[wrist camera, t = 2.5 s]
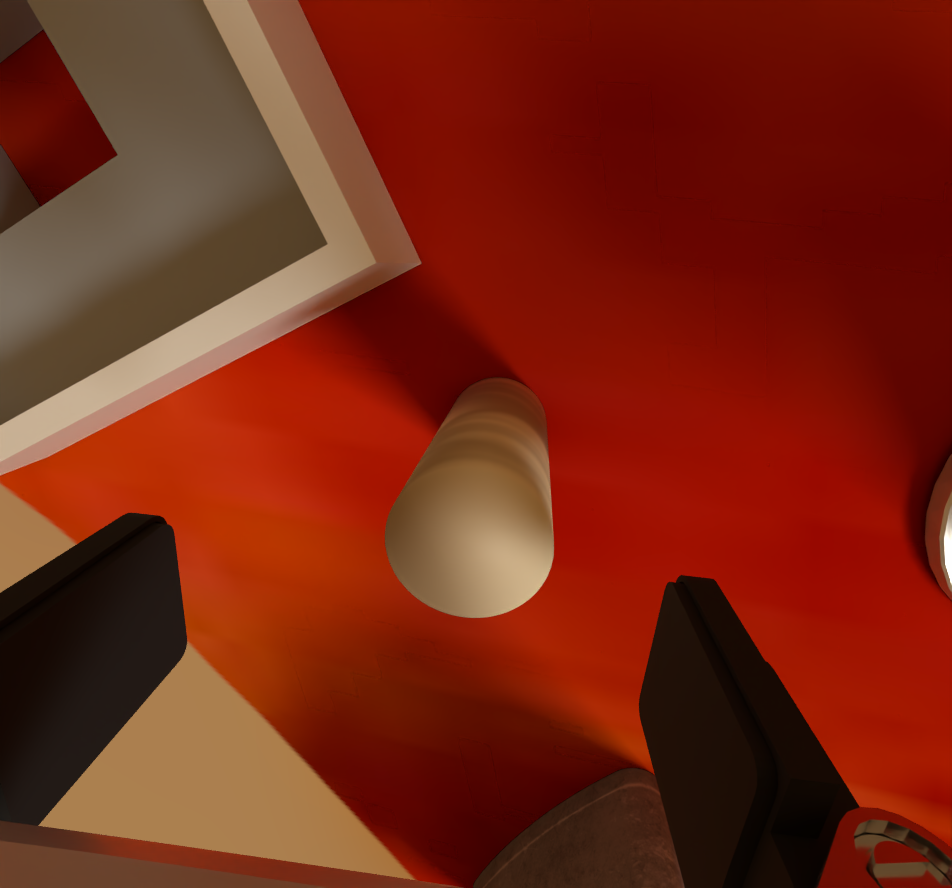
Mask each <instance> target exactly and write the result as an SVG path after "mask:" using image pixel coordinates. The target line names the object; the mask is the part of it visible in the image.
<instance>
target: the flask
mask: <svg viewBox="0 0 952 888" xmlns="http://www.w3.org/2000/svg"><path fill="white" fill-rule="evenodd" d="M473 888H685V887H684V883H683V879H682V875H681V871H680V868H679V864H678V860H677V856H676V853H675V849H674V845H673V841H672V837H671V834H670V830H669V826H668V822H667V818H666V815H665V811H664V807H663V803H662V799H661V796H660V792H659V788H658V784H657V780H656V777H655V776H654V775H653V774H652V773H650V772H648V771H646V770H643V769H639V768H626V769H621V770H619V771H616V772H614V773H612V774H610V775H608V776H606V777H604V778H602V779H601V780H599V781H597V782H595V783H593V784H591V785H590V786H588V787H586V788H584V789H583V790H581V791H579V792H578V793H576V794H574V795H573V796H571V797H569V798H568V799H566V800H565V801H563V802H562V803H560V804H559V805H557V806H556V807H554V808H553V809H551V810H550V811H549V812H547V813H546V814H544V815H543V816H542V817H541V818H539V819H538V820H537V821H535V822H534V823H533V824H531V825H530V826H529V827H528V828H527V829H525V830H524V831H523V832H522V833H520V834H519V835H518V836H517V837H516V838H515V839H514V840H512V841H511V842H510V843H509V844H508V845H507V846H506V847H505V848H504V849H503V850H502V851H501V852H500V853H499V854H498V855H497V856H496V857H495V858H494V859H493V860H492V861H491V862H490V863H489V865H488V866H487V867H486V868H485V869H484V870H483V872H482V873H481V874H480V876H479V877H478V878H477V879H476V881H475V883H474V885H473Z"/></svg>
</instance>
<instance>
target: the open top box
mask: <svg viewBox="0 0 952 888" xmlns="http://www.w3.org/2000/svg"><path fill="white" fill-rule="evenodd" d="M43 29H44V30H45V32H46V34H47V36H48V37H49V39H50V41H51V42H52V44H53V46H54V47H55V49H56V51H57V53H58V54H59V56H60V58H61V59H62V61H63V63H64V64H65V66H66V68H67V69H68V71H69V73H70V75H71V76H72V78H73V80H74V81H75V83H76V85H77V86H78V88H79V90H80V92H81V93H82V95H83V97H84V98H85V100H86V102H87V103H88V105H89V107H90V109H91V110H92V112H93V114H94V115H95V117H96V119H97V120H98V122H99V124H100V126H101V127H102V129H103V131H104V132H105V134H106V136H107V137H108V139H109V141H110V143H111V144H112V146H113V148H114V149H115V151H116V153H117V154H118V155H117V156H115V157H114V158H112V159H111V160H109V161H108V162H106V163H105V164H103V165H102V166H100V167H99V168H98V169H96V170H95V171H93V172H92V173H90V174H89V175H87V176H86V177H84V178H83V179H81V180H80V181H78V182H77V183H75V184H74V185H72V186H71V187H69V188H68V189H66V190H65V191H63V192H62V193H60V194H59V195H58V196H56V197H55V198H53V199H52V200H50V201H49V202H47V203H46V204H44V205H43V206H41V207H40V206H39V204H38V202H37V201H36V199H35V198H34V196H33V195H32V193H31V192H30V190H29V188H28V187H27V185H26V184H25V182H24V181H23V179H22V177H21V176H20V174H19V173H18V171H17V170H16V168H15V167H14V165H13V163H12V162H11V160H10V159H9V157H8V156H7V154H6V152H5V151H4V149H3V148H2V146H1V145H0V475H2V474H5V473H7V472H10V471H13V470H15V469H18V468H20V467H23V466H25V465H28V464H30V463H33V462H36V461H38V460H41V459H43V458H46V457H48V456H51V455H52V454H54V453H56V452H58V451H60V450H62V449H64V448H66V447H68V446H70V445H72V444H74V443H76V442H78V441H80V440H81V439H83V438H85V437H87V436H89V435H91V434H93V433H95V432H97V431H99V430H101V429H103V428H105V427H107V426H109V425H110V424H112V423H114V422H116V421H118V420H120V419H122V418H124V417H126V416H128V415H130V414H132V413H134V412H136V411H138V410H139V409H141V408H143V407H145V406H147V405H149V404H151V403H153V402H155V401H157V400H159V399H161V398H163V397H165V396H167V395H168V394H170V393H172V392H174V391H176V390H178V389H180V388H182V387H184V386H186V385H188V384H190V383H192V382H194V381H196V380H197V379H199V378H201V377H203V376H205V375H207V374H209V373H211V372H213V371H215V370H217V369H219V368H221V367H223V366H225V365H226V364H228V363H230V362H232V361H234V360H236V359H238V358H240V357H242V356H244V355H246V354H248V353H250V352H252V351H254V350H255V349H257V348H259V347H261V346H263V345H265V344H267V343H269V342H271V341H273V340H275V339H277V338H279V337H281V336H283V335H284V334H286V333H288V332H290V331H292V330H294V329H296V328H298V327H300V326H302V325H304V324H306V323H308V322H310V321H312V320H313V319H315V318H317V317H319V316H321V315H323V314H325V313H327V312H329V311H331V310H333V309H335V308H337V307H339V306H341V305H342V304H344V303H346V302H348V301H350V300H352V299H354V298H356V297H358V296H360V295H362V294H364V293H366V292H368V291H370V290H371V289H373V288H375V287H377V286H379V285H381V284H383V283H385V282H387V281H389V280H391V279H393V278H395V277H397V276H399V275H400V274H402V273H404V272H406V271H408V270H410V269H412V268H414V267H416V266H418V265H420V264H422V263H421V261H420V259H419V256H418V254H417V252H416V250H415V248H414V246H413V244H412V242H411V239H410V237H409V235H408V233H407V231H406V229H405V227H404V225H403V223H402V220H401V218H400V216H399V214H398V212H397V210H396V208H395V206H394V203H393V201H392V199H391V197H390V195H389V193H388V191H387V189H386V186H385V184H384V182H383V180H382V178H381V176H380V174H379V172H378V169H377V167H376V165H375V163H374V161H373V159H372V157H371V155H370V152H369V150H368V148H367V146H366V144H365V142H364V140H363V138H362V135H361V133H360V131H359V129H358V127H357V125H356V123H355V121H354V119H353V116H352V114H351V112H350V110H349V108H348V106H347V104H346V102H345V99H344V97H343V95H342V93H341V91H340V89H339V87H338V85H337V82H336V80H335V78H334V76H333V74H332V72H331V70H330V68H329V65H328V63H327V61H326V59H325V57H324V55H323V53H322V51H321V48H320V46H319V44H318V42H317V40H316V38H315V36H314V34H313V31H312V29H311V27H310V25H309V23H308V21H307V19H306V17H305V14H304V12H303V10H302V8H301V6H300V4H299V2H298V0H0V63H1V62H2V61H3V60H5V59H6V58H7V57H8V56H10V55H11V54H12V53H14V52H15V51H16V50H17V49H19V48H20V47H21V46H22V45H24V44H25V43H26V42H28V41H29V40H30V39H31V38H33V37H34V36H35V35H36V34H38V33H39V32H40V31H42V30H43Z"/></svg>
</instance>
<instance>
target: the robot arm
mask: <svg viewBox="0 0 952 888" xmlns="http://www.w3.org/2000/svg"><path fill="white" fill-rule="evenodd" d="M925 544H926V549H927V554H928V559H929V565H930V567H931V569H932V571H933V573H934V575H935V577H936V579H937V581H938V584H939V586H940V587H941V589H942V590H943V591H944V592H945V593H946V595H947V596H948V597H949V598H950V599H951V600H952V454H951V455H950V457H949V458H948V460H947V462H946V464H945V466H944V468H943V470H942V472H941V474H940V476H939V478H938V480H937V481H936V483H935V485H934V489H933V492H932V496H931V499H930V503H929V506H928V509H927V513H926V528H925ZM186 645H187V634H186V626H185V618H184V610H183V601H182V593H181V585H180V577H179V569H178V560H177V552H176V544H175V536H174V531H173V528H172V527H171V526H170V525H168V524H167V523H166V521H165V519H164V518H163V517H161V516H156V515H147V514H139V513H127V514H125V515H123V516H121V517H120V518H118V519H116V520H115V521H113V522H112V523H110V524H108V525H107V526H105V527H104V528H102V529H101V530H99V531H97V532H96V533H94V534H93V535H91V536H89V537H88V538H86V539H85V540H83V541H82V542H80V543H78V544H77V545H75V546H74V547H72V548H70V549H69V550H68V551H66V552H64V553H63V554H61V555H60V556H58V557H56V558H55V559H53V560H52V561H50V562H48V563H47V564H45V565H44V566H42V567H41V568H39V569H37V570H36V571H34V572H33V573H31V574H29V575H28V576H26V577H25V578H23V579H22V580H20V581H18V582H17V583H15V584H14V585H12V586H10V587H9V588H7V589H6V590H4V591H3V592H1V593H0V888H462V887H456V886H449V885H443V884H436V883H430V882H423V881H416V880H410V879H403V878H397V877H390V876H383V875H377V874H370V873H363V872H356V871H350V870H343V869H336V868H329V867H322V866H315V865H308V864H302V863H295V862H288V861H281V860H275V859H267V858H261V857H254V856H247V855H240V854H233V853H226V852H219V851H212V850H205V849H198V848H192V847H185V846H177V845H171V844H163V843H157V842H150V841H142V840H135V839H129V838H121V837H114V836H107V835H100V834H92V833H85V832H78V831H70V830H64V829H56V828H49V827H42V826H38V825H39V824H40V823H41V822H42V820H43V819H44V818H45V817H46V816H47V815H48V813H49V812H50V811H51V810H52V809H53V808H54V806H55V805H56V804H57V803H58V802H59V801H60V799H61V798H62V797H63V796H64V795H65V794H66V792H67V791H68V790H69V789H70V788H71V787H72V786H73V784H74V783H75V782H76V781H77V780H78V778H79V777H80V776H81V775H82V774H83V773H84V772H85V770H86V769H87V768H88V767H89V766H90V764H91V763H92V762H93V761H94V760H95V759H96V758H97V756H98V755H99V754H100V753H101V752H102V751H103V749H104V748H105V747H106V746H107V745H108V744H109V742H110V741H111V740H112V739H113V738H114V737H115V735H116V734H117V733H118V732H119V731H120V730H121V728H122V727H123V726H124V725H125V724H126V723H127V721H128V720H129V719H130V718H131V717H132V716H133V714H134V713H135V712H136V711H137V710H138V709H139V707H140V706H141V705H142V704H143V703H144V702H145V701H146V699H147V698H148V697H149V696H150V695H151V694H152V692H153V691H154V690H155V689H156V688H157V687H158V685H159V684H160V683H161V682H162V681H163V679H164V678H165V677H166V676H167V675H168V674H169V673H170V671H171V670H172V669H173V668H174V667H175V666H176V664H177V663H178V662H179V661H180V660H181V658H182V656H183V654H184V652H185V649H186ZM639 713H640V719H641V723H642V727H643V731H644V735H645V739H646V742H647V746H648V750H649V754H650V758H651V761H652V765H653V769H654V773H655V777H656V780H657V784H658V788H659V792H660V796H661V799H662V803H663V807H664V811H665V815H666V818H667V822H668V826H669V830H670V834H671V837H672V841H673V845H674V849H675V853H676V856H677V860H678V864H679V868H680V871H681V875H682V879H683V883H684V887H685V888H952V848H951V847H949V846H948V845H947V844H946V843H945V842H944V841H942V840H941V839H939V838H938V837H936V836H935V835H934V834H932V833H931V832H929V831H928V830H926V829H925V828H924V827H922V826H920V825H918V824H916V823H914V822H912V821H910V820H908V819H906V818H904V817H902V816H900V815H898V814H895V813H892V812H888V811H885V810H882V809H879V808H865V807H859V805H858V804H857V802H856V800H855V799H854V797H853V796H852V794H851V792H850V791H849V789H848V788H847V786H846V784H845V783H844V781H843V780H842V778H841V776H840V775H839V773H838V772H837V770H836V768H835V767H834V765H833V764H832V762H831V760H830V759H829V757H828V756H827V754H826V752H825V751H824V749H823V748H822V746H821V744H820V743H819V741H818V740H817V738H816V736H815V735H814V733H813V732H812V730H811V728H810V727H809V725H808V724H807V722H806V720H805V719H804V717H803V716H802V714H801V712H800V711H799V709H798V707H797V706H796V704H795V703H794V701H793V699H792V698H791V696H790V695H789V693H788V691H787V690H786V688H785V687H784V685H783V683H782V682H781V680H780V679H779V677H778V675H777V674H776V672H775V671H774V669H773V668H772V667H771V666H770V664H769V663H768V662H766V661H765V660H764V659H763V657H762V655H761V654H760V652H759V651H758V649H757V647H756V646H755V644H754V642H753V641H752V639H751V638H750V636H749V634H748V633H747V631H746V629H745V628H744V626H743V625H742V623H741V621H740V620H739V618H738V616H737V615H736V613H735V612H734V610H733V608H732V607H731V605H730V603H729V602H728V600H727V599H726V597H725V595H724V594H723V592H722V590H721V589H720V587H719V586H718V584H717V582H716V581H715V580H714V579H710V578H701V577H692V576H683V575H681V576H679V577H678V579H677V580H676V583H674V582H669V583H668V584H667V585H666V588H665V591H664V596H663V600H662V604H661V608H660V613H659V617H658V621H657V625H656V630H655V634H654V638H653V642H652V647H651V651H650V655H649V659H648V664H647V668H646V672H645V676H644V681H643V685H642V689H641V693H640V699H639Z"/></svg>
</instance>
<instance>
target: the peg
mask: <svg viewBox="0 0 952 888" xmlns="http://www.w3.org/2000/svg"><path fill="white" fill-rule="evenodd" d="M385 546H386V551H387V556H388V559H389V562H390V564H391V567H392V569H393V571H394V573H395V574H396V576H397V577H398V579H399V580H400V582H401V583H402V584H403V585H404V586H405V588H406V589H407V590H408V591H409V592H410V593H411V594H413V595H414V596H415V597H416V598H418V599H419V600H420V601H422V602H423V603H425V604H427V605H428V606H430V607H432V608H434V609H436V610H439V611H441V612H444V613H447V614H450V615H455V616H460V617H469V618H483V617H490V616H495V615H499V614H503V613H505V612H508V611H511V610H513V609H515V608H517V607H518V606H520V605H522V604H523V603H525V602H526V601H527V600H529V599H530V598H531V597H532V596H533V595H534V594H535V593H536V592H537V591H538V590H539V588H540V587H541V586H542V585H543V583H544V581H545V579H546V578H547V576H548V573H549V571H550V568H551V565H552V560H553V554H554V539H553V522H552V506H551V489H550V472H549V455H548V439H547V422H546V415H545V411H544V408H543V406H542V404H541V402H540V400H539V399H538V397H537V396H536V395H535V394H534V393H533V391H532V390H530V389H529V388H528V387H527V386H525V385H523V384H522V383H520V382H518V381H515V380H512V379H509V378H503V377H493V378H487V379H483V380H480V381H477V382H475V383H474V384H472V385H470V386H469V387H468V388H466V389H465V390H464V391H463V392H462V393H461V394H460V396H459V397H458V398H457V400H456V402H455V403H454V405H453V407H452V408H451V410H450V412H449V413H448V415H447V417H446V418H445V420H444V422H443V423H442V425H441V427H440V428H439V430H438V432H437V433H436V435H435V437H434V438H433V440H432V442H431V443H430V445H429V447H428V448H427V450H426V452H425V453H424V455H423V457H422V458H421V460H420V462H419V463H418V465H417V467H416V468H415V470H414V472H413V473H412V475H411V477H410V478H409V480H408V482H407V483H406V485H405V487H404V488H403V490H402V492H401V493H400V495H399V497H398V498H397V500H396V502H395V503H394V505H393V507H392V509H391V511H390V513H389V516H388V519H387V523H386V530H385Z"/></svg>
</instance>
